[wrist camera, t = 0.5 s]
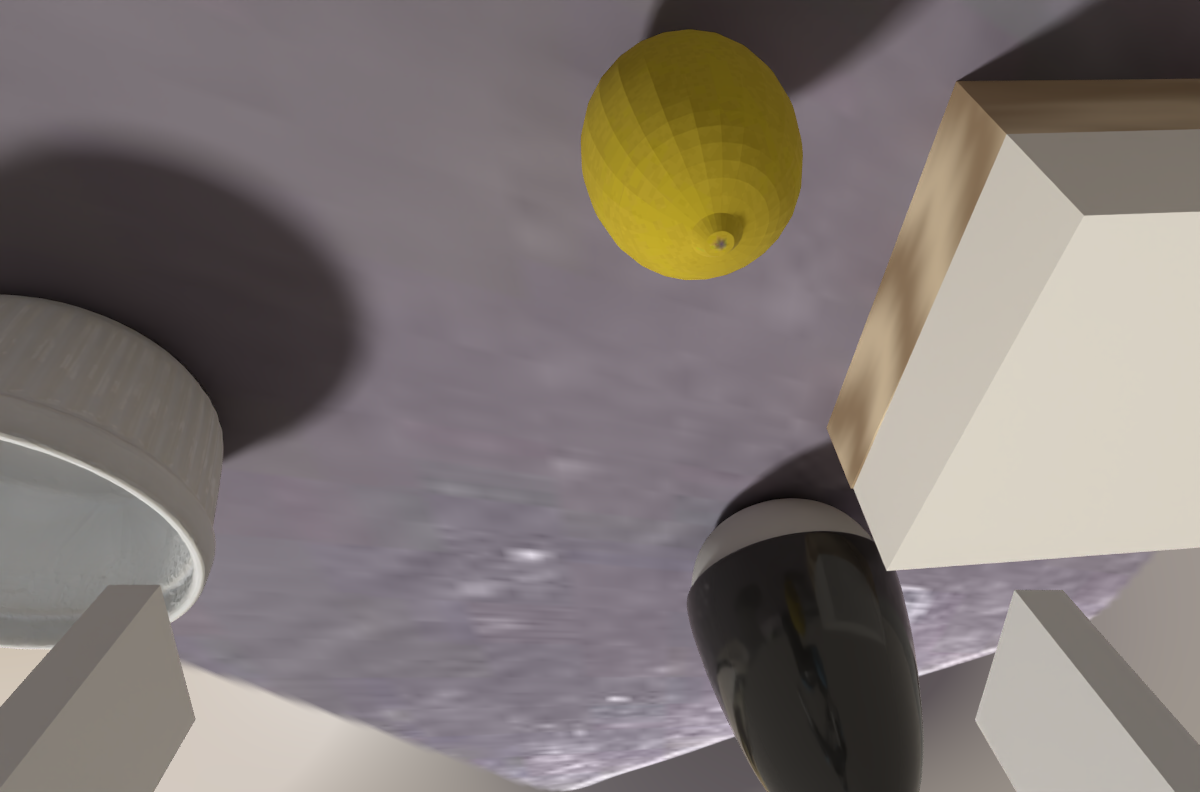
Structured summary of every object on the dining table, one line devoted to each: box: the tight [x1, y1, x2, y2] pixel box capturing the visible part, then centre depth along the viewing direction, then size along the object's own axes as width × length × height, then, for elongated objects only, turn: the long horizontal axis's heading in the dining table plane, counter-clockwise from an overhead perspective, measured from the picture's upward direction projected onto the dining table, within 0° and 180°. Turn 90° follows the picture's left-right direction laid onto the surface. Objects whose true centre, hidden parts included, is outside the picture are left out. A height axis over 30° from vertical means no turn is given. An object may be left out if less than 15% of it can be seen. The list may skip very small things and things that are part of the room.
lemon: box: [581, 29, 803, 280], centre depth 20 cm, size 6×6×8 cm
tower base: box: [827, 79, 1200, 489], centre depth 29 cm, size 16×16×4 cm
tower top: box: [853, 129, 1200, 571], centre depth 26 cm, size 16×16×4 cm
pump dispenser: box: [687, 498, 923, 792], centre depth 35 cm, size 10×10×15 cm
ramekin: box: [0, 295, 224, 649], centre depth 27 cm, size 13×13×7 cm
